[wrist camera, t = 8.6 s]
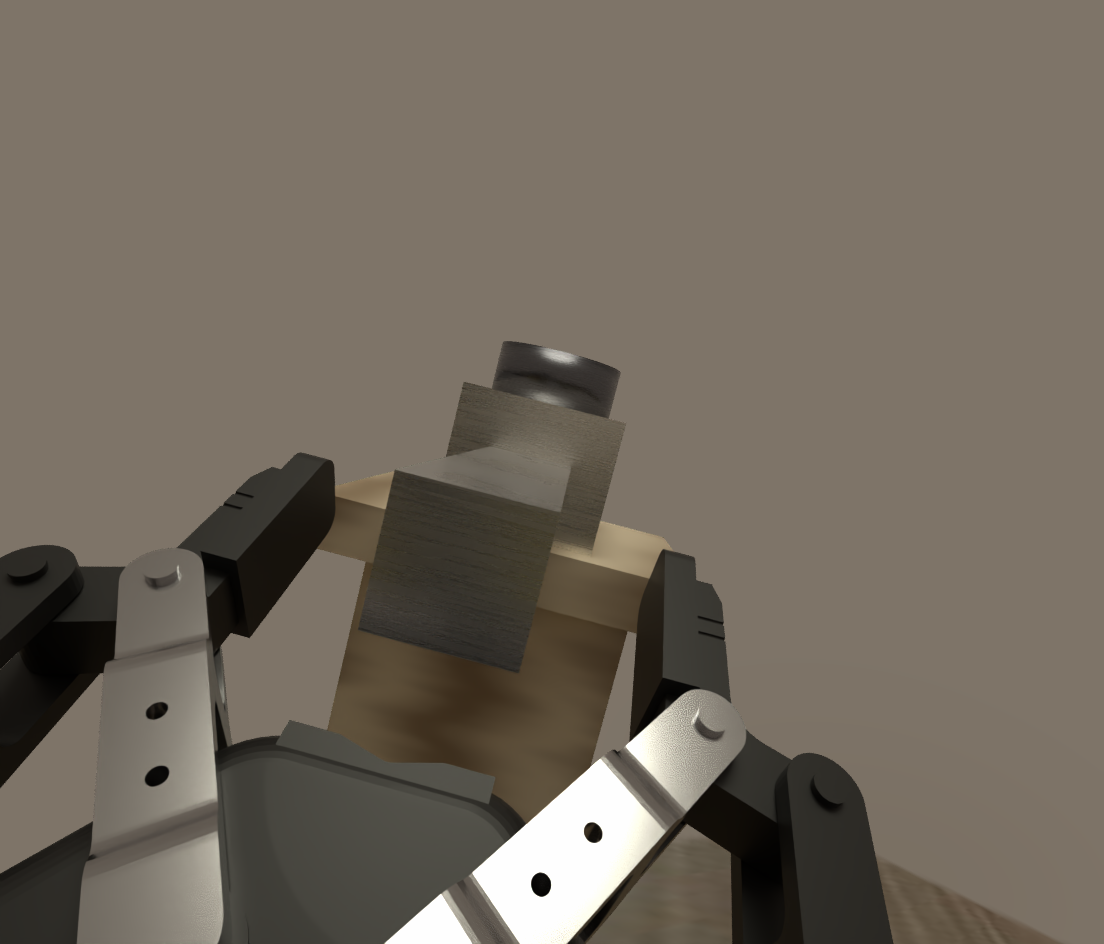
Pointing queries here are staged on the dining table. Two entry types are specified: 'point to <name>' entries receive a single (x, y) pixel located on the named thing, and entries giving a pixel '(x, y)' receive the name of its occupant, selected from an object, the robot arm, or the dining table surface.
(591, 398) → the grey elongated piece
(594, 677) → the stand
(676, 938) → the dining table surface
